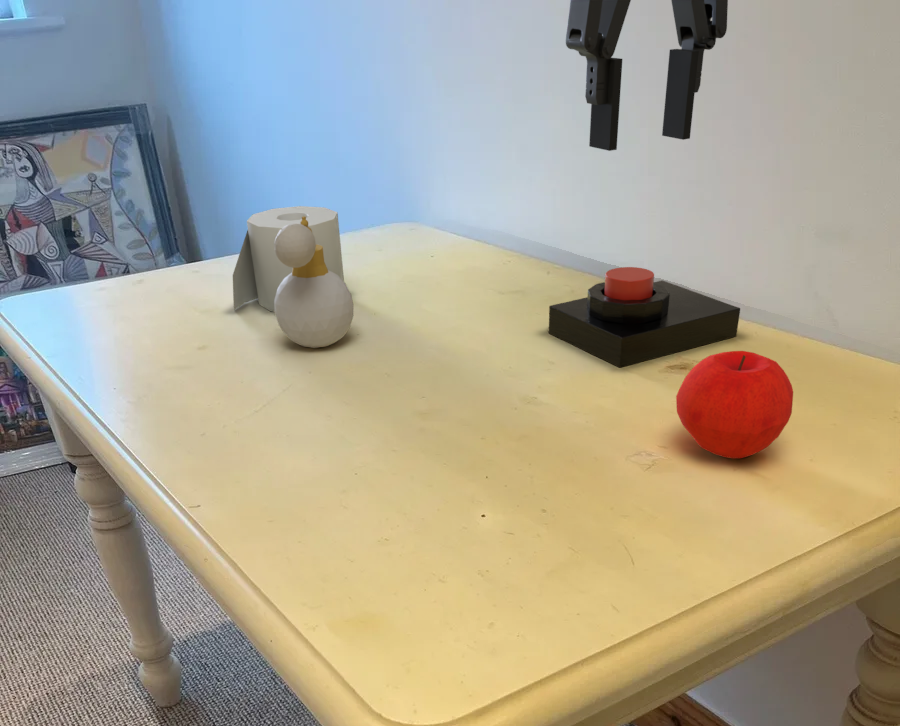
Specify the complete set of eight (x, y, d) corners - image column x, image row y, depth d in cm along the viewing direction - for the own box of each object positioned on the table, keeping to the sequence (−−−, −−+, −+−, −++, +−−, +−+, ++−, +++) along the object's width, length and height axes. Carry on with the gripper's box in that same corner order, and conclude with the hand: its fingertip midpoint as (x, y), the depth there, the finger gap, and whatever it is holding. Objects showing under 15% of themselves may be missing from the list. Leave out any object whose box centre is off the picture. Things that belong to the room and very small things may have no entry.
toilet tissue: (215, 313, 99) (200, 228, 94) (304, 281, 108) (295, 202, 103) (273, 329, 95) (261, 241, 90) (362, 294, 103) (355, 212, 98)
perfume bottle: (347, 326, 95) (335, 200, 88) (370, 358, 87) (359, 223, 80) (273, 336, 93) (255, 208, 86) (290, 369, 85) (272, 232, 78)
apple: (662, 467, 67) (673, 368, 63) (680, 423, 73) (691, 330, 69) (778, 483, 65) (798, 381, 60) (787, 436, 71) (805, 340, 66)
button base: (659, 306, 96) (664, 261, 94) (736, 336, 89) (743, 288, 86) (548, 333, 91) (549, 286, 88) (619, 367, 83) (623, 317, 80)
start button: (631, 286, 89) (633, 264, 88) (662, 297, 86) (664, 275, 85) (594, 294, 87) (595, 272, 86) (624, 306, 84) (626, 283, 83)
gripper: (735, -203, 73) (699, 124, 86) (519, -211, 65) (516, 150, 78) (810, -217, 67) (759, 134, 80) (585, -228, 59) (569, 164, 72)
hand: (640, 142), depth 79 cm, fingers open, 7 cm apart
